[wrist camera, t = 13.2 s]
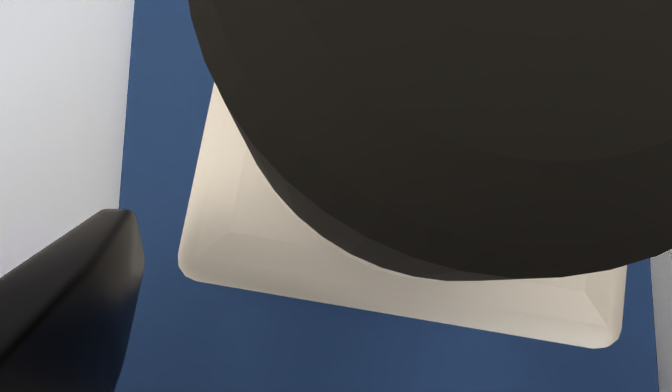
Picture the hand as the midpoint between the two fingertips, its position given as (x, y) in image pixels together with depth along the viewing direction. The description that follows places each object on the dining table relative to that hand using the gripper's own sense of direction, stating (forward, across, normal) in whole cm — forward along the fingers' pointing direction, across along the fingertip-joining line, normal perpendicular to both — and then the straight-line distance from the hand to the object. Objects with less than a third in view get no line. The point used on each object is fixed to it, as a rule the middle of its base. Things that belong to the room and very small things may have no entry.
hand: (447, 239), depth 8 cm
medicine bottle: (+7, 0, +4) cm, 8 cm away
